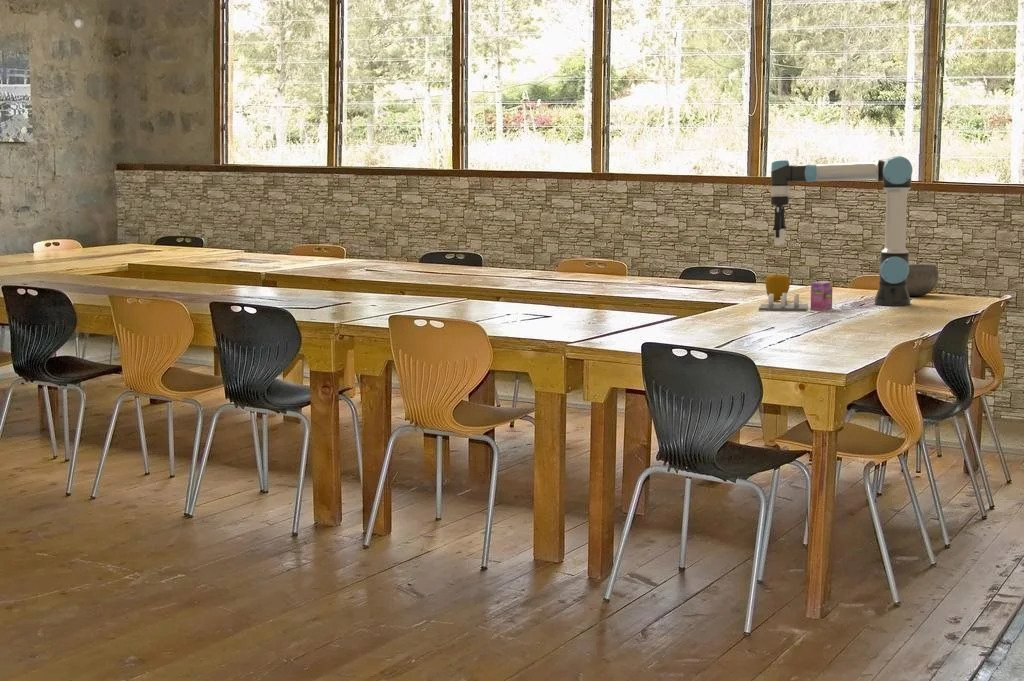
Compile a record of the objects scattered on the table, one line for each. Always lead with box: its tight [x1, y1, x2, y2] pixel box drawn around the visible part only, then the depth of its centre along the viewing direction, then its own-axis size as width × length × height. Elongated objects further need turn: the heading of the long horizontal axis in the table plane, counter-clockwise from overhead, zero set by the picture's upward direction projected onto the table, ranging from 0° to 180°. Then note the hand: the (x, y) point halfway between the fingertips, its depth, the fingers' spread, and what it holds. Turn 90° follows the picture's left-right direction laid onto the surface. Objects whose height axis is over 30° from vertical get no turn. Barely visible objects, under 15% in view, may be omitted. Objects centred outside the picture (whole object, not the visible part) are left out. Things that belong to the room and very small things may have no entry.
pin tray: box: [758, 293, 809, 312], centre depth 552 cm, size 20×18×6 cm
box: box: [810, 280, 834, 312], centre depth 547 cm, size 10×6×12 cm, turn 143°
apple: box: [764, 272, 791, 300], centre depth 589 cm, size 11×11×13 cm
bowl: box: [907, 263, 939, 297], centre depth 597 cm, size 21×21×15 cm
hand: (779, 244), depth 559 cm, fingers open, 13 cm apart
